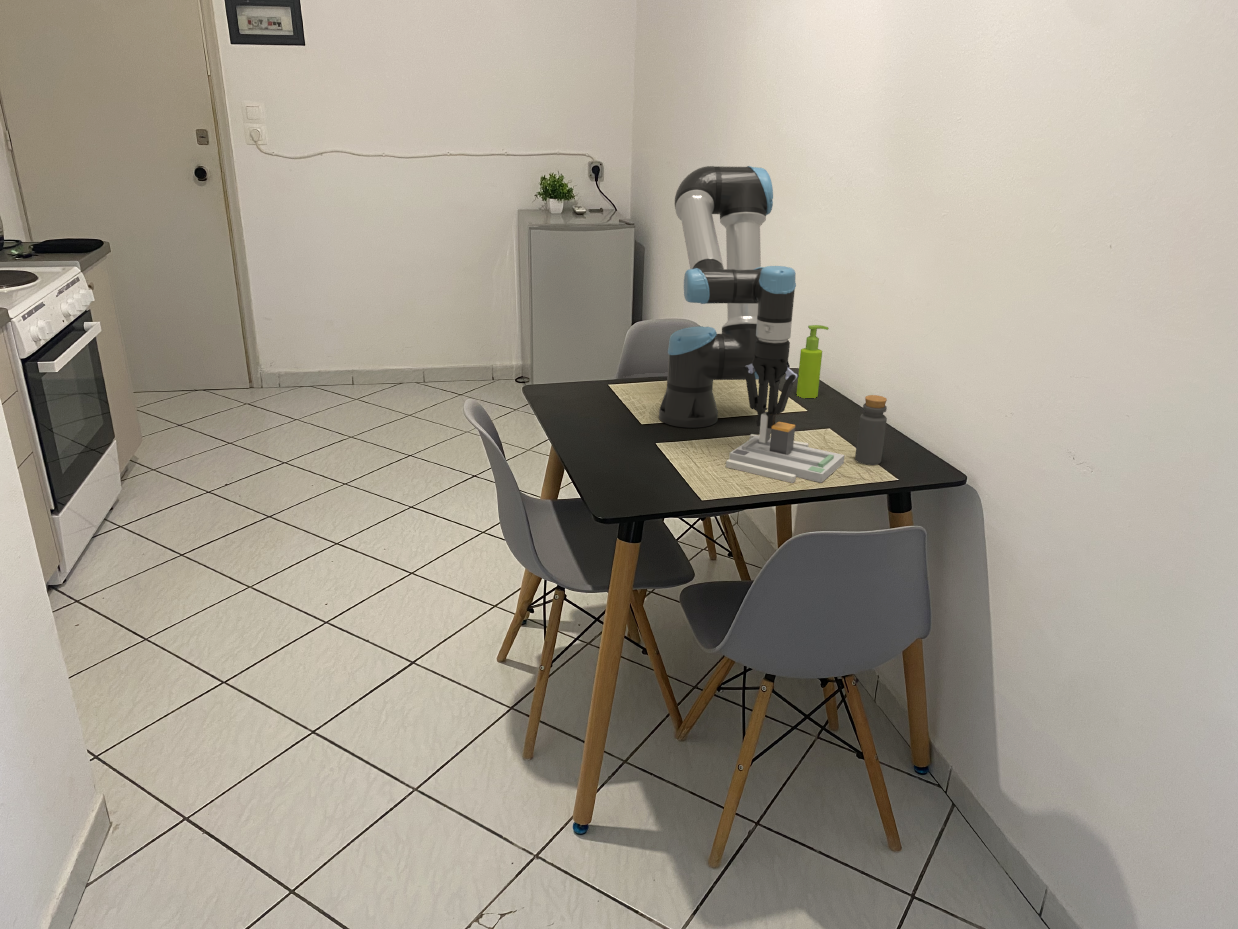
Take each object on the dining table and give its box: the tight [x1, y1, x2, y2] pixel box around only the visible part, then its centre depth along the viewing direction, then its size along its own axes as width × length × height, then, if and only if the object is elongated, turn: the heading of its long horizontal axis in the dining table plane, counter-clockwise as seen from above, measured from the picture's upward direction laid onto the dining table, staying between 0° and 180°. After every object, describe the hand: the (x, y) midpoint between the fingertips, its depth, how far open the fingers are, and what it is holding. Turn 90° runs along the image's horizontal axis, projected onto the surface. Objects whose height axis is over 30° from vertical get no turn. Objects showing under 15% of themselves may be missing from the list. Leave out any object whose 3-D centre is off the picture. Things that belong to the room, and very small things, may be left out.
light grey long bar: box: [725, 458, 797, 484], centre depth 194 cm, size 16×1×1 cm, turn 57°
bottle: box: [854, 394, 888, 466], centre depth 200 cm, size 6×6×15 cm
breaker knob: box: [770, 421, 796, 455], centre depth 200 cm, size 4×4×6 cm
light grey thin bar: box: [748, 433, 809, 447], centre depth 211 cm, size 14×1×1 cm, turn 65°
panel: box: [728, 436, 845, 483], centre depth 200 cm, size 22×14×3 cm, turn 57°
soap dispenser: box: [796, 324, 830, 399], centre depth 245 cm, size 6×7×20 cm
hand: (764, 440), depth 202 cm, fingers closed
